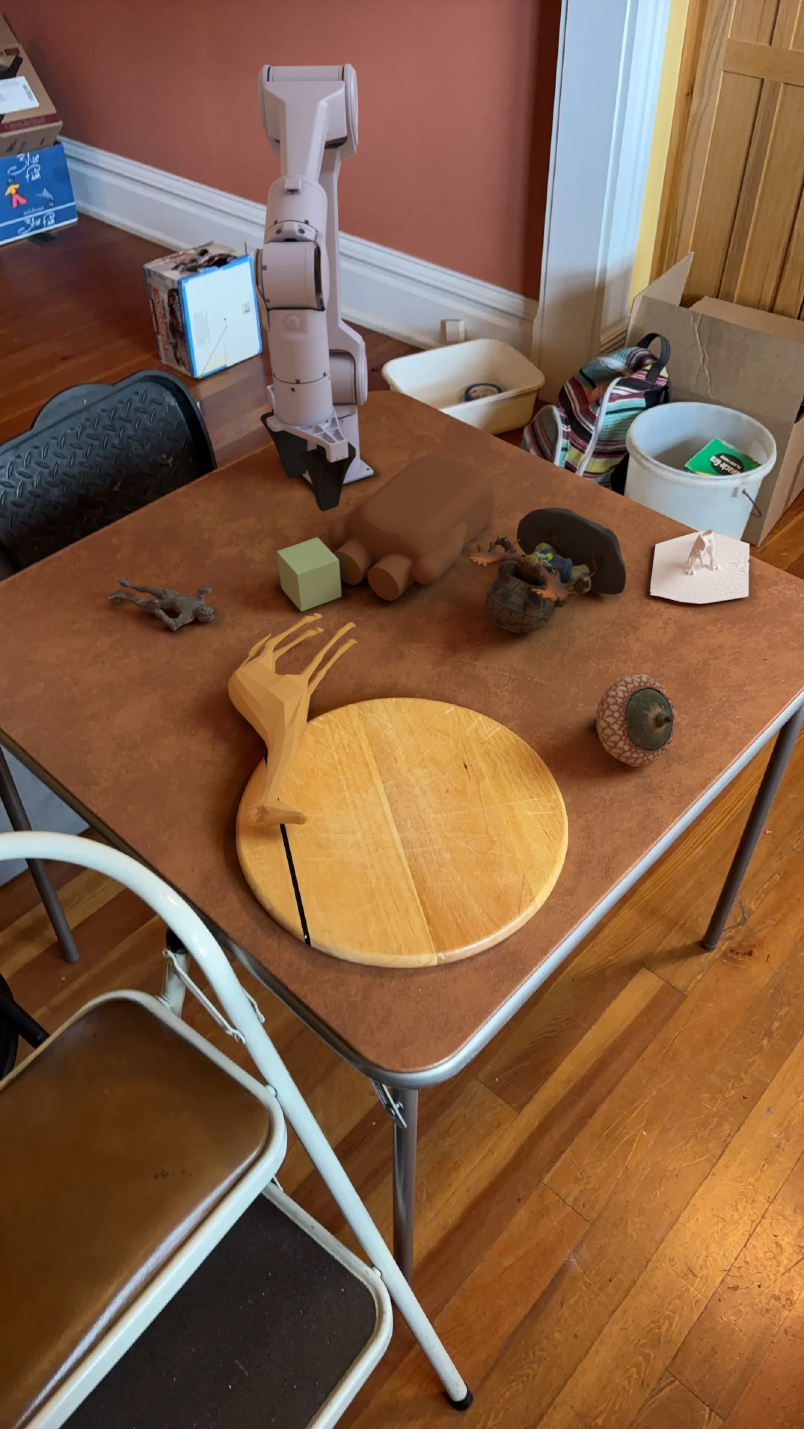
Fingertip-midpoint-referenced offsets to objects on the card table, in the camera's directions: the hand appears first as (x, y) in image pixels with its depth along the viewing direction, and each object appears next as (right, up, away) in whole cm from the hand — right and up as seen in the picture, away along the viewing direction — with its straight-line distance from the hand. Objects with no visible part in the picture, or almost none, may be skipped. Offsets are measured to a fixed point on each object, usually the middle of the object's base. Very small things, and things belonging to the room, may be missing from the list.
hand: (312, 490), depth 107 cm
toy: (+11, -5, +8) cm, 15 cm away
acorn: (+28, -25, -13) cm, 40 cm away
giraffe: (+5, -16, -7) cm, 18 cm away
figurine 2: (+25, -12, 0) cm, 28 cm away
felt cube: (0, -11, +2) cm, 11 cm away
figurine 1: (-16, -13, +1) cm, 21 cm away
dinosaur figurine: (+43, -9, +4) cm, 44 cm away
